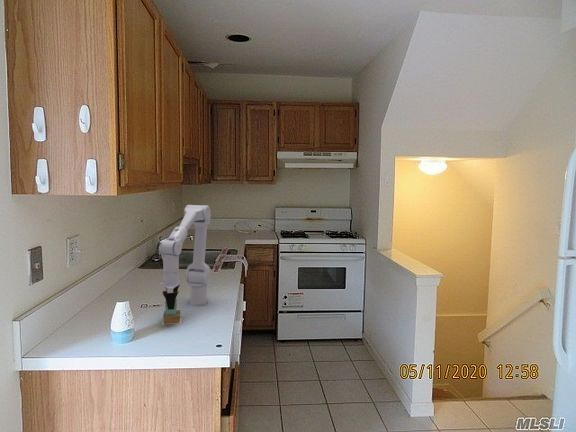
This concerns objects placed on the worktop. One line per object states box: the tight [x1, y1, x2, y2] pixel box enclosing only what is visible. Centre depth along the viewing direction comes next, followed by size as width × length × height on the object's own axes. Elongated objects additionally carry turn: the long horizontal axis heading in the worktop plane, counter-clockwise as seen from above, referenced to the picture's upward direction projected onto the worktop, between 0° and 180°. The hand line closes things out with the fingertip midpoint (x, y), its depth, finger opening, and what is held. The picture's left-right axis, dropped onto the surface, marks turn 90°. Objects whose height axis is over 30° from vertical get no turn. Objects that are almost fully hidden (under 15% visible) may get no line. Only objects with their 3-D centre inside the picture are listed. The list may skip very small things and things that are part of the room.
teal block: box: [164, 298, 178, 315], centre depth 152 cm, size 4×4×5 cm
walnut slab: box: [162, 309, 181, 325], centre depth 153 cm, size 6×6×3 cm
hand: (171, 305), depth 152 cm, fingers open, 7 cm apart
